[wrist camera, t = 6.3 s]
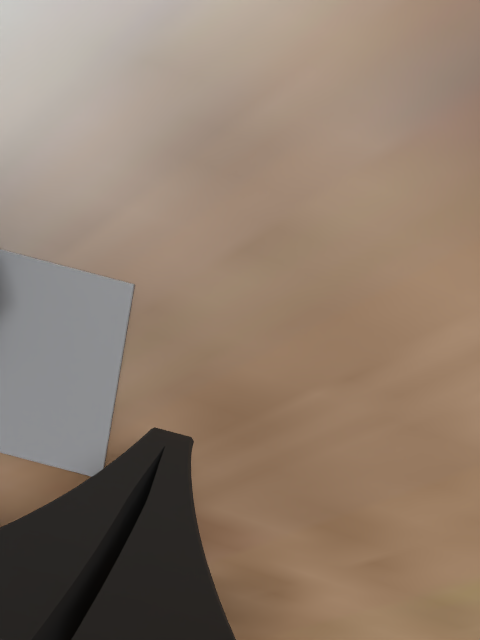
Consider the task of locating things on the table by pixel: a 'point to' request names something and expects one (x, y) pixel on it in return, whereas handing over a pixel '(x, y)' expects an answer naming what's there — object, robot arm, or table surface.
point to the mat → (59, 361)
